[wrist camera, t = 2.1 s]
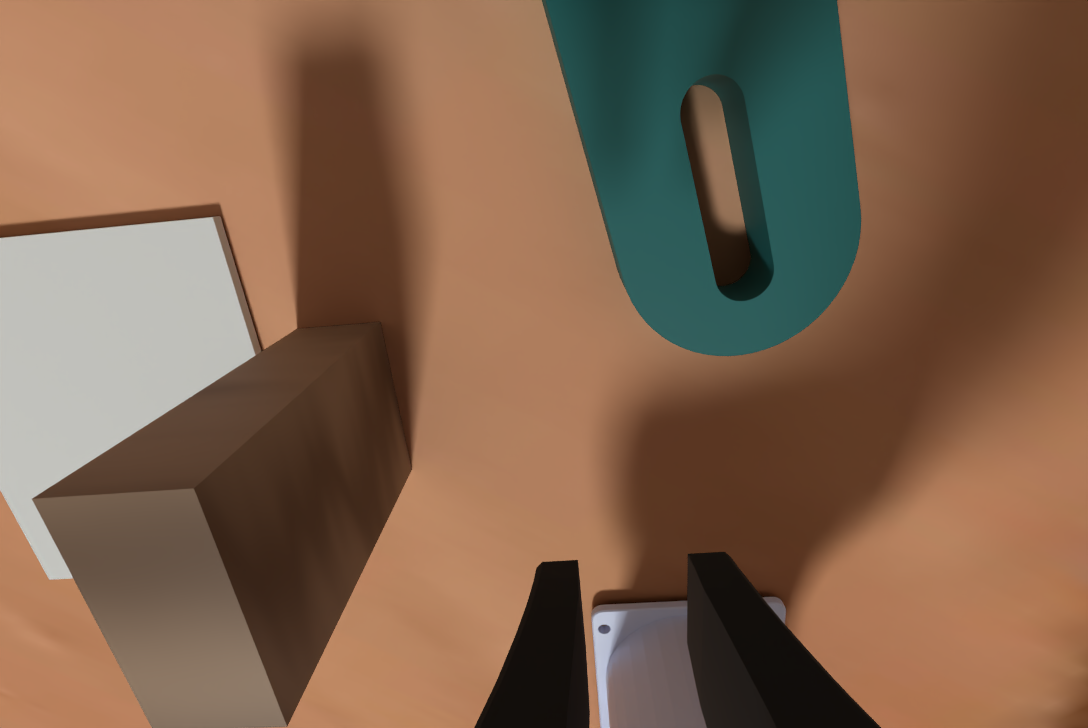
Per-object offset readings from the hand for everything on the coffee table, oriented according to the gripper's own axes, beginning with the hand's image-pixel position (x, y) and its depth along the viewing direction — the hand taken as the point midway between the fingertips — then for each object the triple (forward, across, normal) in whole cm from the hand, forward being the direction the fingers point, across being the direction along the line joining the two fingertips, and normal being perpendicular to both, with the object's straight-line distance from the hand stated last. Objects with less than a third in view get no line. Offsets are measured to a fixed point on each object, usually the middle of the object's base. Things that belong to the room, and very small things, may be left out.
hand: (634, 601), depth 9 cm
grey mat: (+10, +18, +1) cm, 21 cm away
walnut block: (+10, +9, +1) cm, 14 cm away
